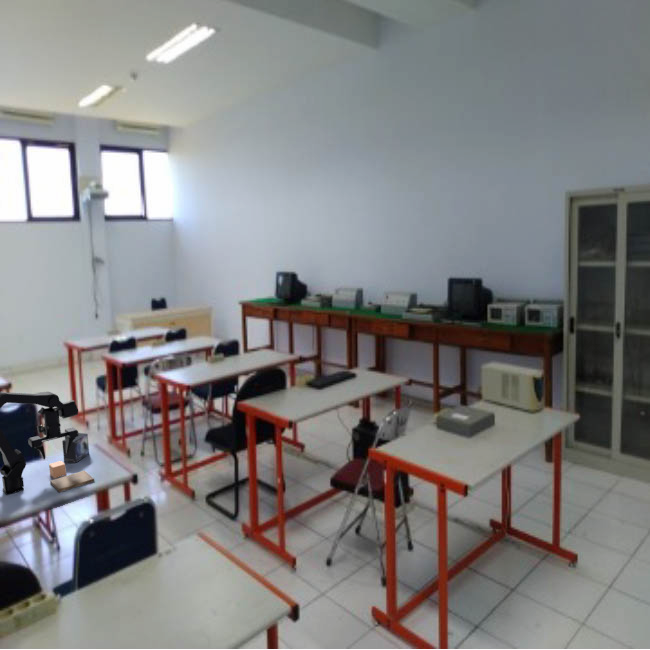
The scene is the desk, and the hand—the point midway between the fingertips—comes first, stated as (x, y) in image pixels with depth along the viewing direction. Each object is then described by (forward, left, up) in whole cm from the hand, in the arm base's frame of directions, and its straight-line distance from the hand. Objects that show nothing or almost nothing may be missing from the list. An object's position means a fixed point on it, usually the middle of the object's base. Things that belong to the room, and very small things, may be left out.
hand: (55, 456), depth 240 cm
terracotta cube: (0, 0, -9) cm, 9 cm away
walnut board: (+2, -12, -9) cm, 15 cm away
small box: (+12, +12, -9) cm, 19 cm away
